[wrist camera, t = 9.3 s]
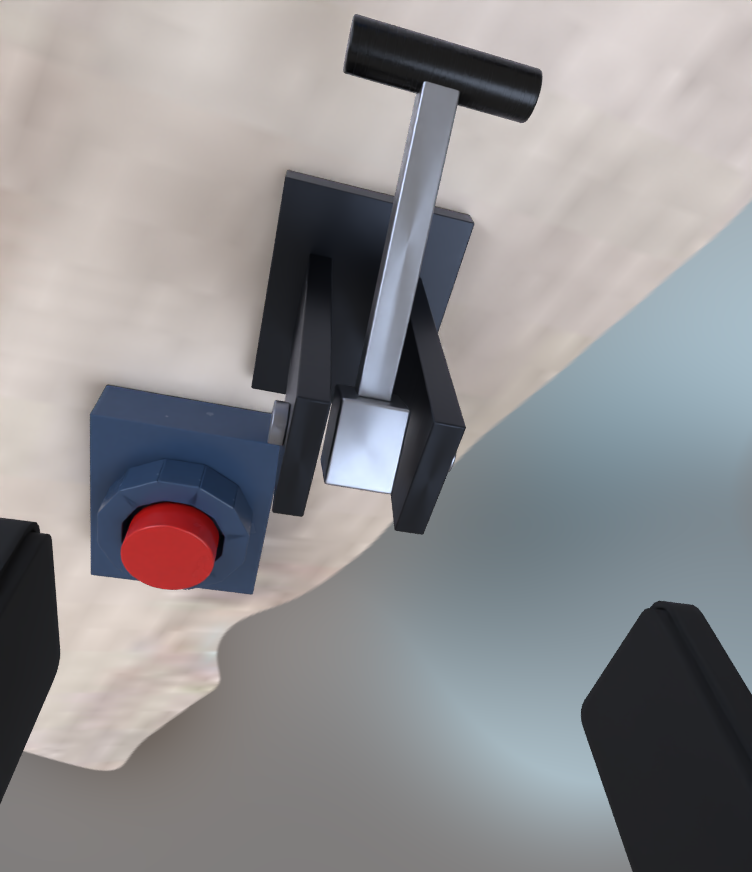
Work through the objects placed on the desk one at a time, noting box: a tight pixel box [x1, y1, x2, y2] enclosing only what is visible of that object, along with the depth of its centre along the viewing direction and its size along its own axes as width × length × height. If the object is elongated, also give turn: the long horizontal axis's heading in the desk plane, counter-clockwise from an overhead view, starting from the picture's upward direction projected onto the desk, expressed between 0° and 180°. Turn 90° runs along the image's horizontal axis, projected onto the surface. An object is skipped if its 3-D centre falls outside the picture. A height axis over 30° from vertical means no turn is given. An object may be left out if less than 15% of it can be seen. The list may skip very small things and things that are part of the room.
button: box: [120, 502, 219, 590], centre depth 31 cm, size 4×4×2 cm
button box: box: [90, 385, 280, 594], centre depth 33 cm, size 11×9×4 cm
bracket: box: [251, 170, 474, 534], centre depth 24 cm, size 10×8×13 cm
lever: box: [321, 14, 542, 494], centre depth 19 cm, size 13×6×2 cm, turn 166°
